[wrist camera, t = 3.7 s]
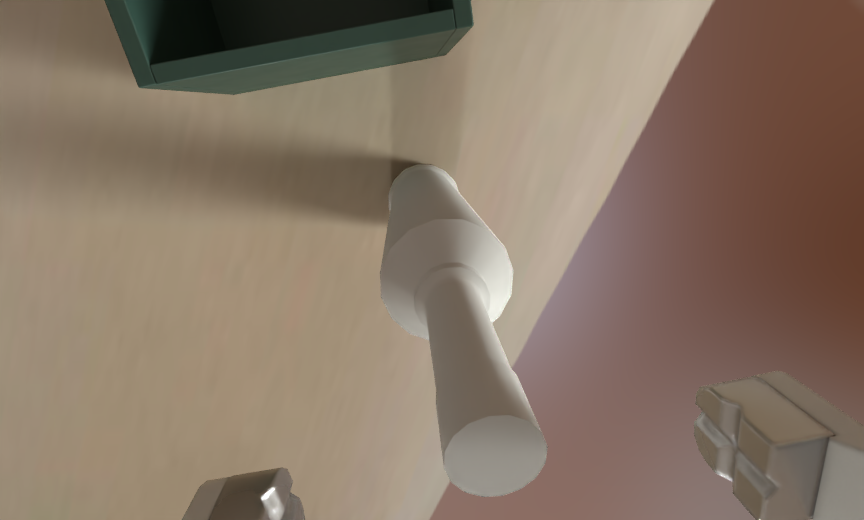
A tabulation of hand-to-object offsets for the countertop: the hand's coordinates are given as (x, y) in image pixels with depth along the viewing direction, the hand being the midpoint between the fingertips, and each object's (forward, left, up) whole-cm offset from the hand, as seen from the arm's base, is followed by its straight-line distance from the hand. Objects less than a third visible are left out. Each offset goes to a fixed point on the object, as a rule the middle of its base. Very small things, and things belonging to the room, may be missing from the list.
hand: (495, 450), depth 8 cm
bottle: (0, 0, -25) cm, 25 cm away
